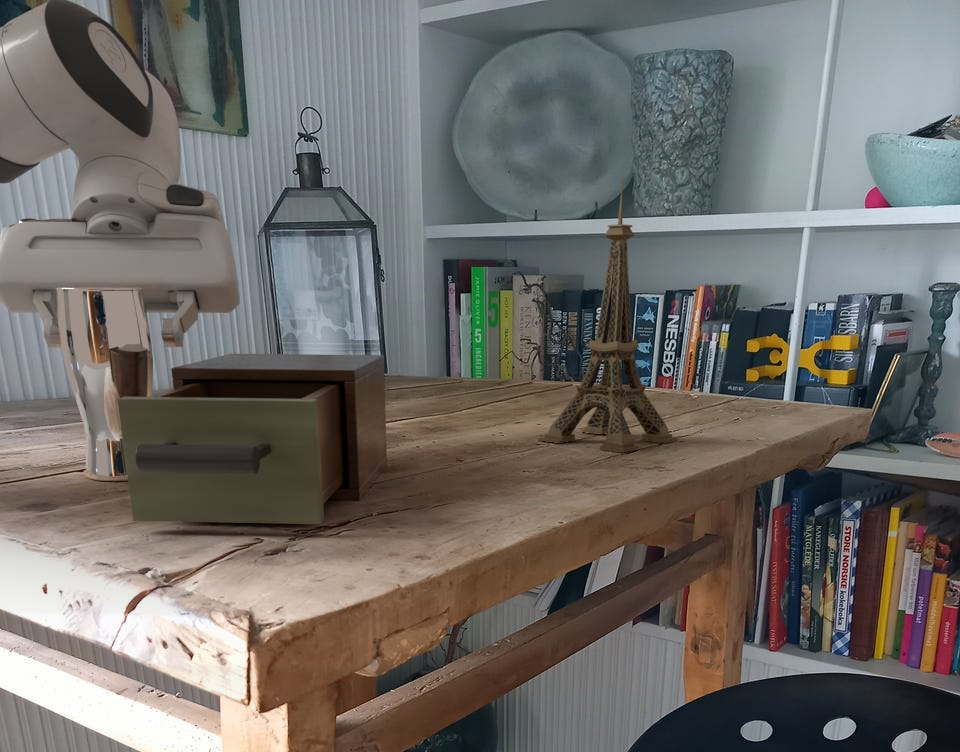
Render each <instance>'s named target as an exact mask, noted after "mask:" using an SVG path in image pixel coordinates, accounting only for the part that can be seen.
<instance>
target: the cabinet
mask: <svg viewBox="0 0 960 752" xmlns="http://www.w3.org/2000/svg"><path fill="white" fill-rule="evenodd" d="M170 370H171V371H170V372H171V378H172V389H175V388H178V387H181V386H185V385H188V384H191V383H195V382H198V381H263V382H343V390H344V412H345V435H346V457H347V479H346V480H345V481H344V483H343V484H342V485H341V486H340V487H339V488H338V489H337V490H336V491H335V492H334V493H333V494H332V495H331V497H330V498H329V499H328V500H330V501H331V500H332V501H333V500H335V501H361V499H362V498H363V497H364V495H365V494H366V493H367V491H368V490H369V489H370V487H371V486H372V485H373V484H374V483H375V481H376V480H377V479H378V477H379V476H380V475H381V473H382V472H383V471H384V470H385V468H386V467H387V466H388V457H387V455H388V452H387V451H388V450H387V418H386V414H387V413H386V386H385V385H386V384H385V381H386V380H385V356H384V355H383V354H312V353H311V354H307V353H306V354H301V353H297V354H295V353H291V354H290V353H228V354H223V355H220V356H216V357H215V356H214V357H211V358H208V359H203V360H199V361H194V362H190V363H187V364H182V365H179V366H175V367H171V369H170ZM328 500H327V501H328Z"/></svg>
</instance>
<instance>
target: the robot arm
mask: <svg viewBox="0 0 960 752" xmlns="http://www.w3.org/2000/svg"><path fill="white" fill-rule="evenodd" d="M180 134H181V133H180V126H179V120H178V116H177V113H176V109H175V106H174V103H173V101H172V98H171V96H170V94H169V93H168V91H167V89H166V88H165V87H164V85H163V84H162V83H161V82H160V81H159V79H158V78H156V76H155V75H153V74H152V73H150V72H149V71H147V70H146V69H145V68H144V67H143V65H142V63H141V61H140V59H138V57H137V55H136V54H135V52H134V51H133V49H132V48H131V46H130V45H129V44H128V42H127V41H126V40H125V38H123V37H122V35H121V34H120V33H119V32H118V31H117V29H116V28H114V27H113V25H112V24H110V23H109V22H108V21H106V20H104V19H103V18H102V17H100V16H99V15H98V14H96V13H94V12H93V11H92V10H90V9H88V8H86V7H84V6H82V5H80V4H78V3H75V2H73V1H71V0H49V1H47V2H44V3H42V4H40V5H38V6H36V7H33V8H32V9H30V10H28V11H25V12H24V13H22V14H21V15H20V14H19V15H18V16H17V17H14V18H12V19H11V20H9V21H8V22H6V23H4V25H3V26H0V184H9V183H12V182H13V181H15V180H16V179H18V178H20V177H21V176H23V175H24V174H25V173H28V172H29V171H31V170H32V169H34V168H35V167H37V166H38V165H39V164H41V162H43V161H45V160H47V159H50V158H51V157H53V156H55V155H58V154H60V153H63V152H65V151H66V150H69V149H70V150H71V151H72V152H73V154H74V155H75V156H76V158H77V160H78V169H77V173H76V176H75V181H74V190H73V198H72V205H71V212H70V213H71V214H70V218H47V219H36V218H32V217H31V218H30V217H29V218H28V217H27V218H21V219H19V221H18V222H17V223H13V224H11V225H9V226H5V227H3V228H2V230H1V232H0V302H1V303H2V304H3V306H4V307H6V308H7V309H8V310H9V311H10V312H12V313H16V314H18V313H20V314H21V313H24V314H26V313H28V314H29V313H30V314H31V313H35V314H38V315H39V318H40V319H41V321H42V322H43V337H44V340H45V342H46V345H47V347H48V348H50V349H51V348H61V343H60V334H59V326H58V312H57V296H56V289H55V288H57V287H132V288H143V295H144V301H145V306H146V310H147V314H148V313H149V314H150V313H151V314H153V313H155V314H160V313H161V314H166V313H167V314H170V313H171V314H174V315H173V316H172V317H170V318H161V330H160V332H161V333H160V335H161V340H162V342H163V346H164V347H165V348H183V347H184V337H185V334H186V333H187V332H188V331H189V330H190V328H192V326H193V325H194V324H195V323H196V322H197V321H198V320H199V314H208V313H209V314H229V313H232V312H233V311H234V310H235V309H236V308H237V307H239V305H240V304H241V292H240V284H239V278H238V277H239V276H238V271H237V266H236V261H235V256H234V251H233V247H232V241H231V238H230V234H229V231H228V230H227V228H226V223H225V220H224V215H223V212H222V208H221V205H220V203H219V200H218V197H217V196H216V194H214V193H213V192H211V191H208V190H204V189H200V188H196V187H193V186H188V185H185V184H181V183H179V181H180V177H181V164H182V163H181V160H182V159H181V157H182V151H181V150H182V147H181V145H182V144H181V135H180Z"/></svg>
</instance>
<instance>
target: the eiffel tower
mask: <svg viewBox="0 0 960 752" xmlns="http://www.w3.org/2000/svg"><path fill="white" fill-rule="evenodd" d="M623 186H624V178H623V177H622V178H621V188H620V189H621V190H620V191H621V192H620V197H619V199H620V200H619V206H618V207H619V209H618V216H617V217H618V218H617V224H607V225H606V226H607V228H608V229H607V231H606V232H605V233H604V235H603V236H604V237H606V238H608V239H609V240H610V247H609V252H608V253H609V254H608V260H607V266H606V271H605V279H604V284H603V292H602V298H601V304H600V311H599V316H598V322H597V329H596V335H595V340H592V339H590V340H589V342H588V345H587V348H588V349H590V350H591V355H590V359H589V362H588V365H587V368H586V371H585V374H584V376H583V378H582V380H581V383H580V385H576V384H575V387H576V390H577V393H576V394H575V395H574V397H572V399H571V400H570V402H569V403H568V404H567V405H566V406H565V407H564V409H563V410H562V411H561V413H560V414H559V415H558V417H557V418H556V419H555V420H554V422H553V423H552V424H551V425H550V427H549V430H548V432H547V434H543V436H542V437H538V438H537V441H538V442H541V441H546V442H545V443H548V442H554V443H553V444H556V443H562V444H564V443H563V442H567V443H569V442H568V441H572V442H574V441H573V440H575V441H576V434H575V433H574V434H573V432H574V430H575V429H576V428H577V426H578V425H579V423H580V422H581V421H582V419H583V418H584V416H586V415H587V414H588V413H590V411H592V410H593V409H594V408H595V410H594V411H593V412H592V415H591V416H590V418H589V419H588V420H587V424H586V425H587V426H584V429H580V430H581V431H580V433H581V432H588V433H594V434H605V433H607V435H605V436H606V437H605V441H604V442H603V441H602V445H600V446H599V450H601V451H606V450H607V452H614V453H621V452H623V453H622V454H624V452H625V453H628V451H629V452H633V451H637V450H639V445H636V442H635V441H633V435H632V432H631V430H630V428H629V425H628V422H627V421H626V420H627V419H626V418H625V416H624V413H623V412H624V411H625V409H627V408H628V410H629V411H630V412H631V413H632V414H633V415H634V416H635V418H636V419H637V421H638V422H639V424H640V426H641V428H642V430H643V431H644V433H642V434H641V442H651V443H658V444H667V443H671V442H672V443H673V442H676V441H678V440H679V437H678V436H673V433H670V430H669V429H668V425H667V423H666V422H665V421H664V420H663V418H662V417H661V415H660V414H659V412H658V410H657V409H656V408H655V406H654V405H653V403H652V401H651V400H650V399H649V398H648V396H647V395H646V393H645V390H646V387H647V384H644V385H643V383H642V380H641V377H640V375H639V372H638V367H637V362H636V357H635V351H636V350H637V349H639V348H640V346H639V343H638V342H639V341H638V339H633V336H632V335H633V334H632V317H631V299H630V298H631V296H630V277H629V274H630V273H629V255H628V254H629V253H628V252H629V251H628V240H629V239H631V238H633V237H635V236H636V234H635V233H634V232H633V230H632V229H631V228H633V225H632V224H624V223H623V197H624V195H623V188H624V187H623ZM602 362H603V366H602V367H603V368H602V372H601V373H602V374H601V379H600V382H599V383H598V384H595V383H596V381H597V379H598V376H599V373H600V369H601V365H602ZM622 362H623V366H624V373H625V377H626V382H627V384H628V385H627V384H623V379H622V378H623V377H622ZM594 434H593V435H594Z"/></svg>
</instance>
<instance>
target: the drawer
mask: <svg viewBox="0 0 960 752" xmlns="http://www.w3.org/2000/svg"><path fill="white" fill-rule="evenodd" d="M117 400H118V408H119V415H120V423H121V431H122V438H123V446H124V454H125V461H126V469H127V477H128V481H127V483H128V484H127V485H128V491H129V499H130V508H131V515H132V521H134V522H176V523H177V522H184V523H186V522H187V523H233V524H234V523H237V524H239V523H240V524H281V525H282V524H287V525H289V524H290V525H296V524H297V525H321V524H322V523H323V522H324V520H325V513H324V512H325V511H324V504H325V503H326V502H327V501H328V499H329V498H330V497H331V495H332V494H333V493H334V492H335V491H336V490H337V489H338V488H339V487H340V486H341V485H342V484H343V483H344V481H345V480H346V479H347V457H346V435H345V412H344V390H343V382H263V381H198V382H195V383H191V384H188V385H185V386H181V387H178V388H175V389H173V388H172V389H168V390H165V391H162V392H158V393H155V394H152V395H151V396H148V397H122V398H119V399H117Z"/></svg>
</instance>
